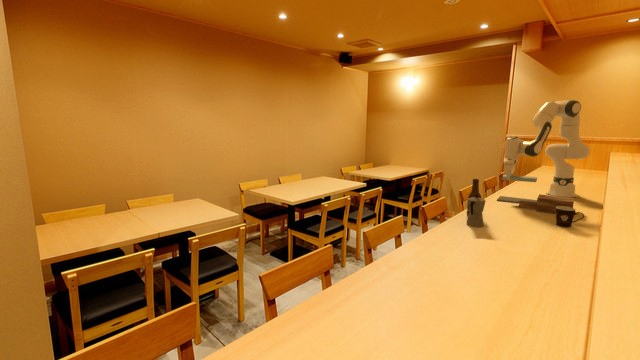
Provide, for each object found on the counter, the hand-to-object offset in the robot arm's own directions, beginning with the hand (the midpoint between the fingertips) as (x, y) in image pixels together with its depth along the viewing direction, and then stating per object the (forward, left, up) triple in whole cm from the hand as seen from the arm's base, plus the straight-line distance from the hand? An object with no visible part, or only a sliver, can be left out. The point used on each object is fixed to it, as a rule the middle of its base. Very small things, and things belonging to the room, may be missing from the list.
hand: (509, 178), depth 221 cm
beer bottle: (+53, -10, -16) cm, 56 cm away
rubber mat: (-2, +7, -16) cm, 18 cm away
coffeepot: (+68, -6, -16) cm, 70 cm away
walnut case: (+13, +23, -16) cm, 31 cm away
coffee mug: (+43, +35, -16) cm, 58 cm away
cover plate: (0, +6, 0) cm, 6 cm away
